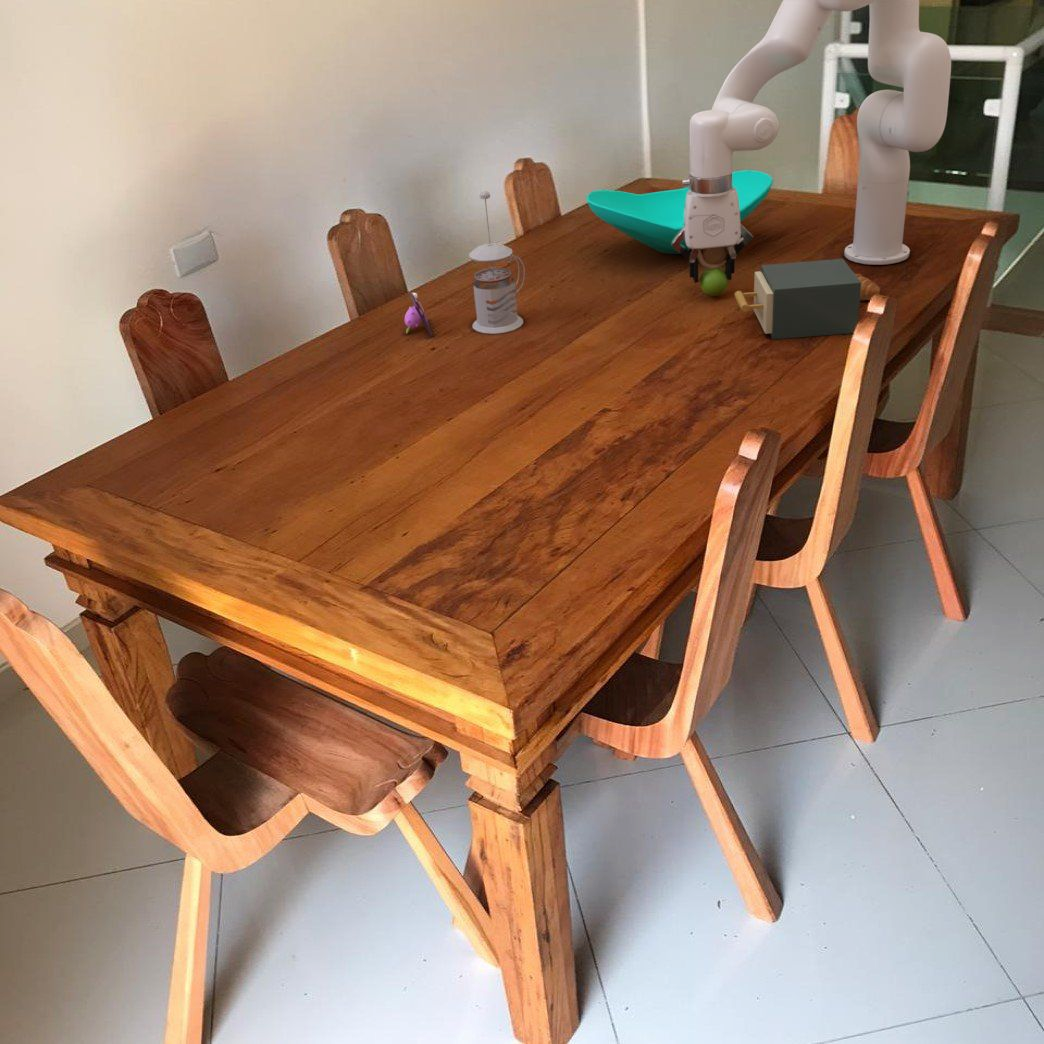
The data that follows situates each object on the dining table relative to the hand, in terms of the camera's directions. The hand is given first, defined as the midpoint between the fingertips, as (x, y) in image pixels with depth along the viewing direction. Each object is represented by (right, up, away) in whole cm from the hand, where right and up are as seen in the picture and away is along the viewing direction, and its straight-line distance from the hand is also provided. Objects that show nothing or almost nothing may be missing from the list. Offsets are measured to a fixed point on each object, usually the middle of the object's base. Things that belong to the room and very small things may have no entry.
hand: (711, 278), depth 209 cm
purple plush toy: (-56, -10, 0) cm, 57 cm away
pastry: (+26, -4, -3) cm, 26 cm away
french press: (-40, -8, 0) cm, 41 cm away
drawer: (+11, -10, -13) cm, 20 cm away
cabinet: (+15, -11, -12) cm, 22 cm away
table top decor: (-2, +12, +28) cm, 30 cm away
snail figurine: (0, -3, +2) cm, 4 cm away
